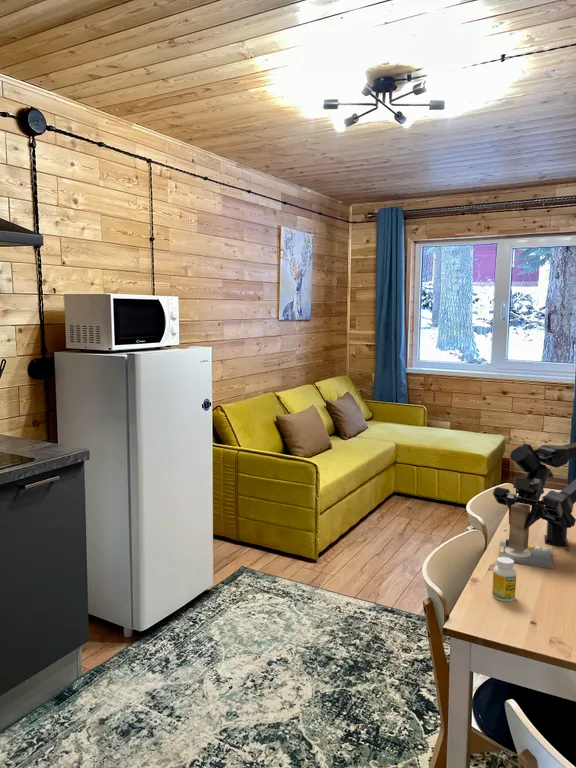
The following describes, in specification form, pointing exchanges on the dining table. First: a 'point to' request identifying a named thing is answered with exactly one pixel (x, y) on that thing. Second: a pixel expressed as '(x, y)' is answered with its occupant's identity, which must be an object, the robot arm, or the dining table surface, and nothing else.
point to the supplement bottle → (504, 580)
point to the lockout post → (518, 527)
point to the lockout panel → (527, 555)
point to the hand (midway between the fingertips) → (517, 526)
